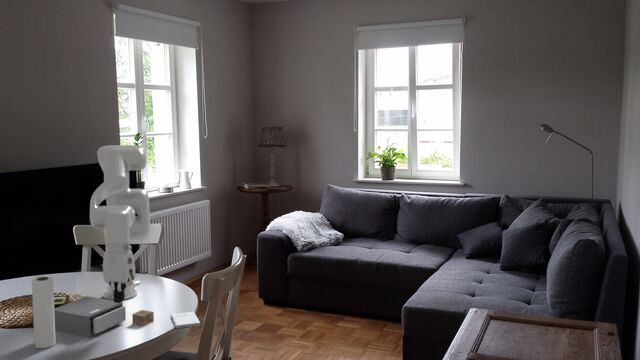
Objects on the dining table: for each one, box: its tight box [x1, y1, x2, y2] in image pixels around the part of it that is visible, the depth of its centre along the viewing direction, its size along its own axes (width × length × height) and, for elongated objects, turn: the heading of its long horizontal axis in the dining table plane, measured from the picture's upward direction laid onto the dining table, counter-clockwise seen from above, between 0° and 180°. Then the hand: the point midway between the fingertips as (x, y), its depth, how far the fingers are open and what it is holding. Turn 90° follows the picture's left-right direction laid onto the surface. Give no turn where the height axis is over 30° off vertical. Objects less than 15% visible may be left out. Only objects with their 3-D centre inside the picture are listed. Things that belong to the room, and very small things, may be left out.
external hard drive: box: [170, 311, 201, 329], centre depth 208 cm, size 2×8×12 cm
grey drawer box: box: [54, 296, 124, 338], centre depth 201 cm, size 16×16×7 cm
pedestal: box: [131, 309, 155, 327], centre depth 205 cm, size 5×5×4 cm
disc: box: [90, 313, 104, 325], centre depth 201 cm, size 7×7×2 cm
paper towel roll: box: [31, 275, 57, 349], centre depth 184 cm, size 7×6×21 cm
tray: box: [91, 305, 127, 335], centre depth 201 cm, size 14×17×5 cm
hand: (119, 301), depth 196 cm, fingers closed
